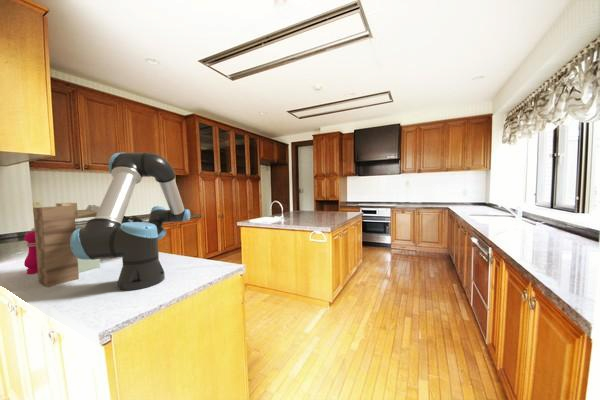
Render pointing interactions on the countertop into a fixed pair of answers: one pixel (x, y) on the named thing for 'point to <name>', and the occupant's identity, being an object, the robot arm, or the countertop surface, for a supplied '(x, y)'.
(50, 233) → the walnut post
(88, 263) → the sage box
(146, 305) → the countertop surface
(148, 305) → the countertop surface
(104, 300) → the countertop surface
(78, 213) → the tan tall block
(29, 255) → the pepper mill
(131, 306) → the countertop surface
